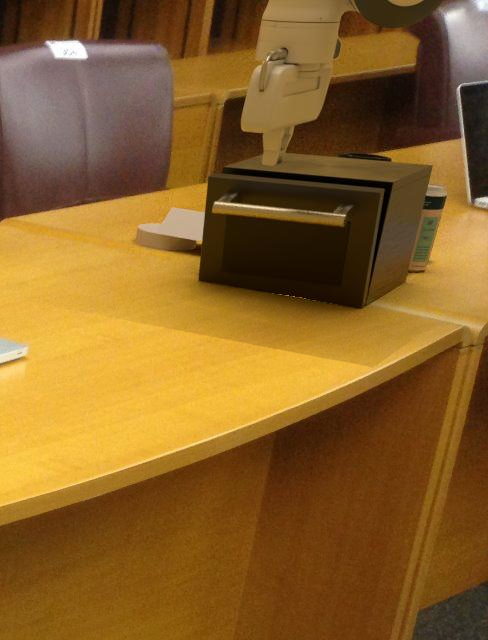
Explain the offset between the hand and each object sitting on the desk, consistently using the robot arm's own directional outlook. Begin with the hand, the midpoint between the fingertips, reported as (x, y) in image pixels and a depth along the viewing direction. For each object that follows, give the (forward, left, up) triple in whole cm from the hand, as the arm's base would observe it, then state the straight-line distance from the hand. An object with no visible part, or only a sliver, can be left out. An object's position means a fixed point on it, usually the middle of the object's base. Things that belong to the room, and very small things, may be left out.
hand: (272, 164), depth 193 cm
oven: (0, -25, -19) cm, 31 cm away
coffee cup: (+2, -49, -19) cm, 52 cm away
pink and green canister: (-9, -44, -19) cm, 49 cm away
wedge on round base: (+22, -34, -19) cm, 45 cm away
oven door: (0, -11, -19) cm, 22 cm away
